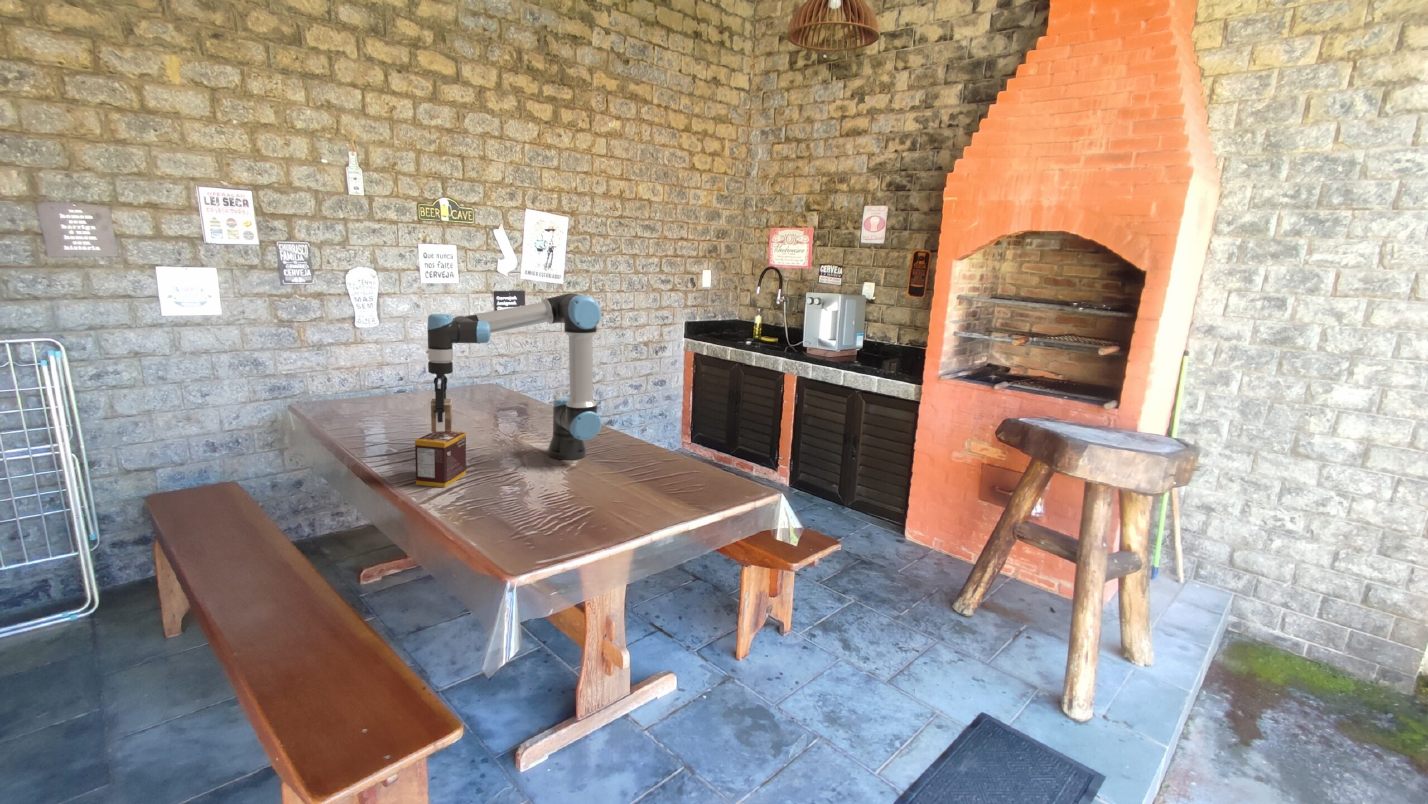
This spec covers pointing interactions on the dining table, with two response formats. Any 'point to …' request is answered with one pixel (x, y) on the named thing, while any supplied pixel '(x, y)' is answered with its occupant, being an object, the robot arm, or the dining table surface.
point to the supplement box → (440, 458)
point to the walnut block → (447, 415)
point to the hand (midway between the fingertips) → (441, 428)
